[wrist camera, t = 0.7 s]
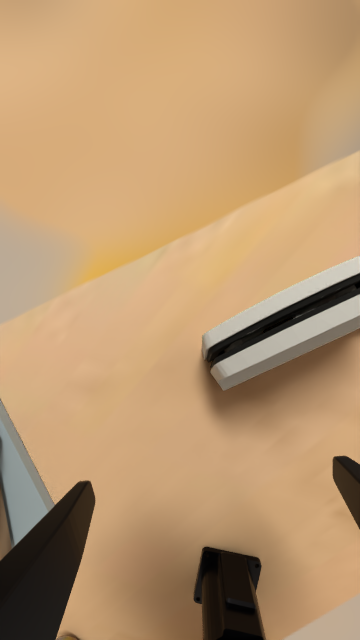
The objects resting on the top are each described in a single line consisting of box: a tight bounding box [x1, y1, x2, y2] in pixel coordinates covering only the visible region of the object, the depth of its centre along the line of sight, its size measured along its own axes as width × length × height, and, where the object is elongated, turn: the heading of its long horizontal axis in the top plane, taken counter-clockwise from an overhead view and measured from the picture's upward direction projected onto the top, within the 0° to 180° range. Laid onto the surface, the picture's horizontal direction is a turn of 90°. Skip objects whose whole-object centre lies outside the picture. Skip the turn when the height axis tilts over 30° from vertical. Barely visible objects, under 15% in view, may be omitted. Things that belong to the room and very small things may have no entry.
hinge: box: [202, 256, 360, 391], centre depth 19 cm, size 17×5×10 cm, turn 117°
